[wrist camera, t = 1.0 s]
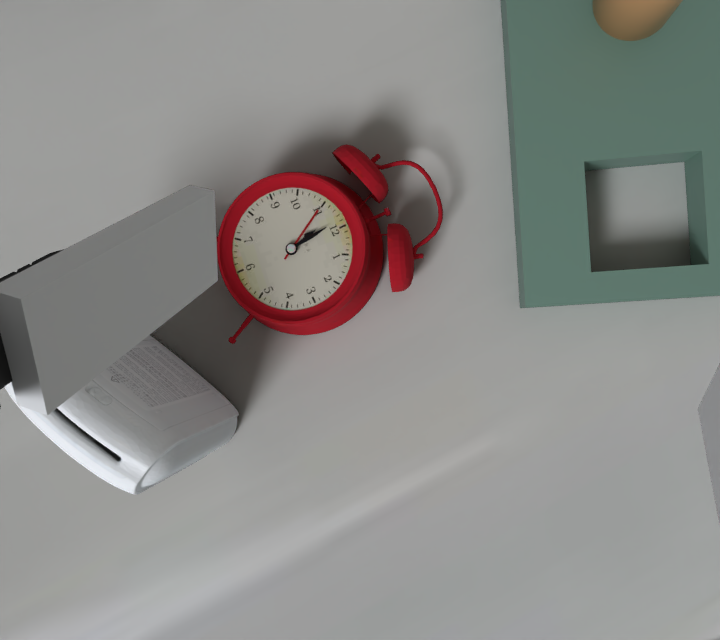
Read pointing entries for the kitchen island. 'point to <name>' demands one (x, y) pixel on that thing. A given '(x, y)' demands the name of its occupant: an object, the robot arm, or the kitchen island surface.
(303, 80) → the kitchen island surface
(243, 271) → the alarm clock
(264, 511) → the kitchen island surface
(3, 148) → the kitchen island surface
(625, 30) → the plug
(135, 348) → the photo printer
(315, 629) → the kitchen island surface
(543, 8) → the socket board
